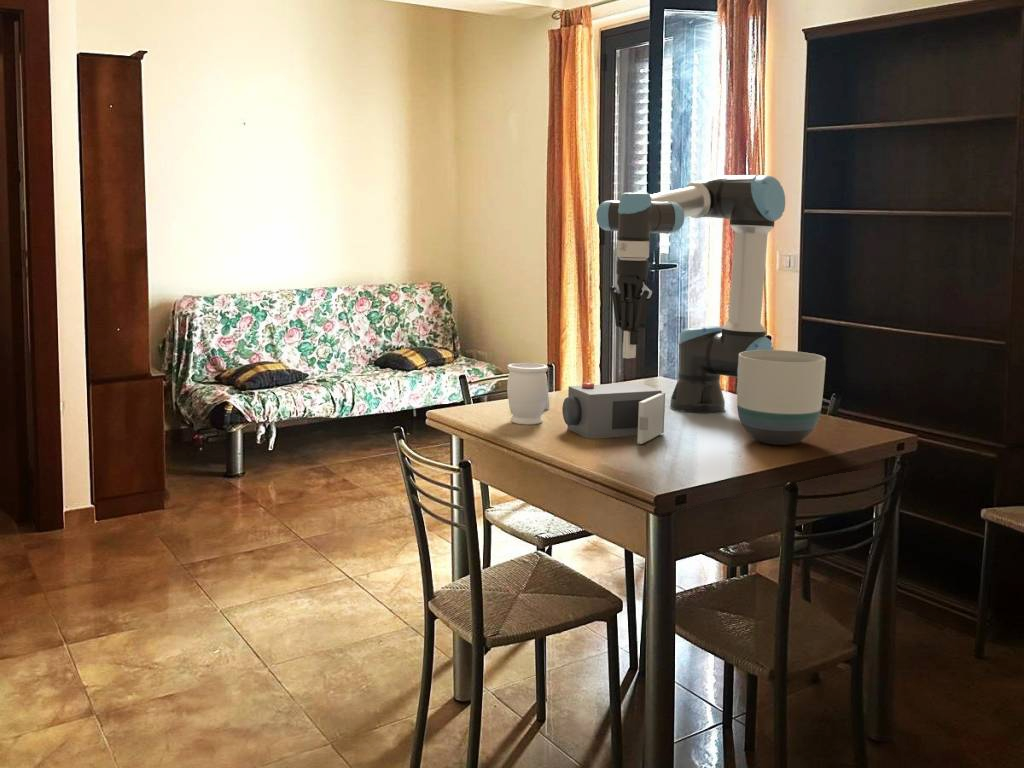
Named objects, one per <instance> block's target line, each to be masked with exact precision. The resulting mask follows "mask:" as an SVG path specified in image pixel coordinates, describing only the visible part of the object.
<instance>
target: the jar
mask: <svg viewBox="0 0 1024 768" xmlns="http://www.w3.org/2000/svg"><path fill="white" fill-rule="evenodd" d="M507 369H508V371H509V372H508V373H509V374H508V377H507V382H506V383H507V384H506V385H507V387H506V388H507V392H506V393H507V399H508V406H509V411H510V413H511V414H512V415H511V418H510V422H511V423H513V424H516V425H517V424H518V425H524V426H525V425H526V426H530V425H531V426H532V425H538V424H539V425H540V424H542V423H543V421H544V420H543V418H542V415H543V413H544V411H545V410H544V408H545V402H546V397H547V390H548V391H549V388H548V385H549V384H548V377H547V374H546V373H547V371H548V370H549V368H548V365H546V364H541V363H537V362H514V363H509V364H507Z"/></svg>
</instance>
